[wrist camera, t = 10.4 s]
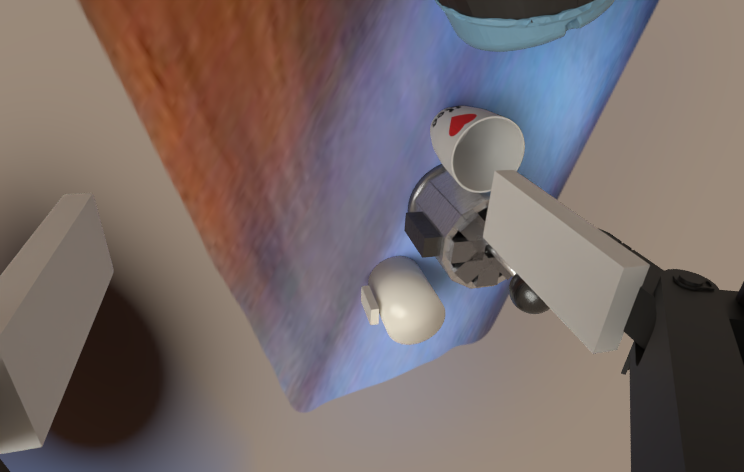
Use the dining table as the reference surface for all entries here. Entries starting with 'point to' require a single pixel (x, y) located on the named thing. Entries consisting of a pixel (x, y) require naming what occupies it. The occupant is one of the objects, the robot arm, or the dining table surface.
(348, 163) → the dining table surface
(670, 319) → the robot arm
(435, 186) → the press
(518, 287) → the plunger
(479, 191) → the cup
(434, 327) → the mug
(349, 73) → the dining table surface
